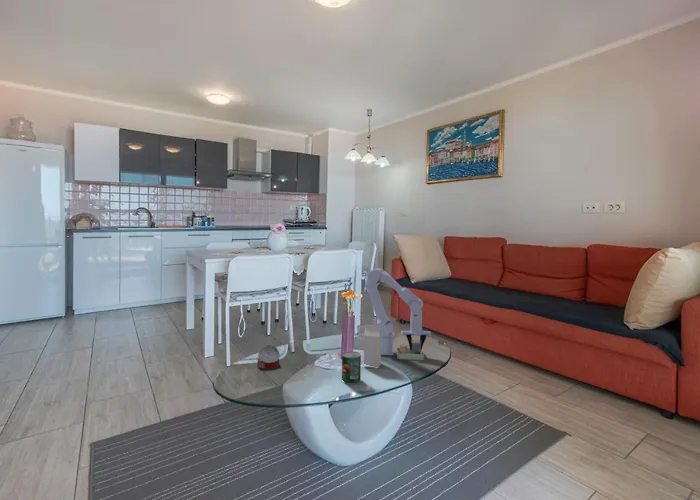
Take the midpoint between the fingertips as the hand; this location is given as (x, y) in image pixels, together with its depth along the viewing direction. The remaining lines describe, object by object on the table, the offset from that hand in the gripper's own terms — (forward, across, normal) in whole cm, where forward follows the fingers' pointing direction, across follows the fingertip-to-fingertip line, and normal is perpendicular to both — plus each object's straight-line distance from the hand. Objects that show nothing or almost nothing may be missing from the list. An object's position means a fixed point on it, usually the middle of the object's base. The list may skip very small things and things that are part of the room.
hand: (415, 349), depth 184 cm
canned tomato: (+4, -31, -33) cm, 45 cm away
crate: (+4, -3, 0) cm, 5 cm away
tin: (+2, 0, 0) cm, 2 cm away
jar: (+3, -6, 0) cm, 7 cm away
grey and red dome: (+4, -70, -18) cm, 72 cm away
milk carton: (+4, -22, -15) cm, 27 cm away
